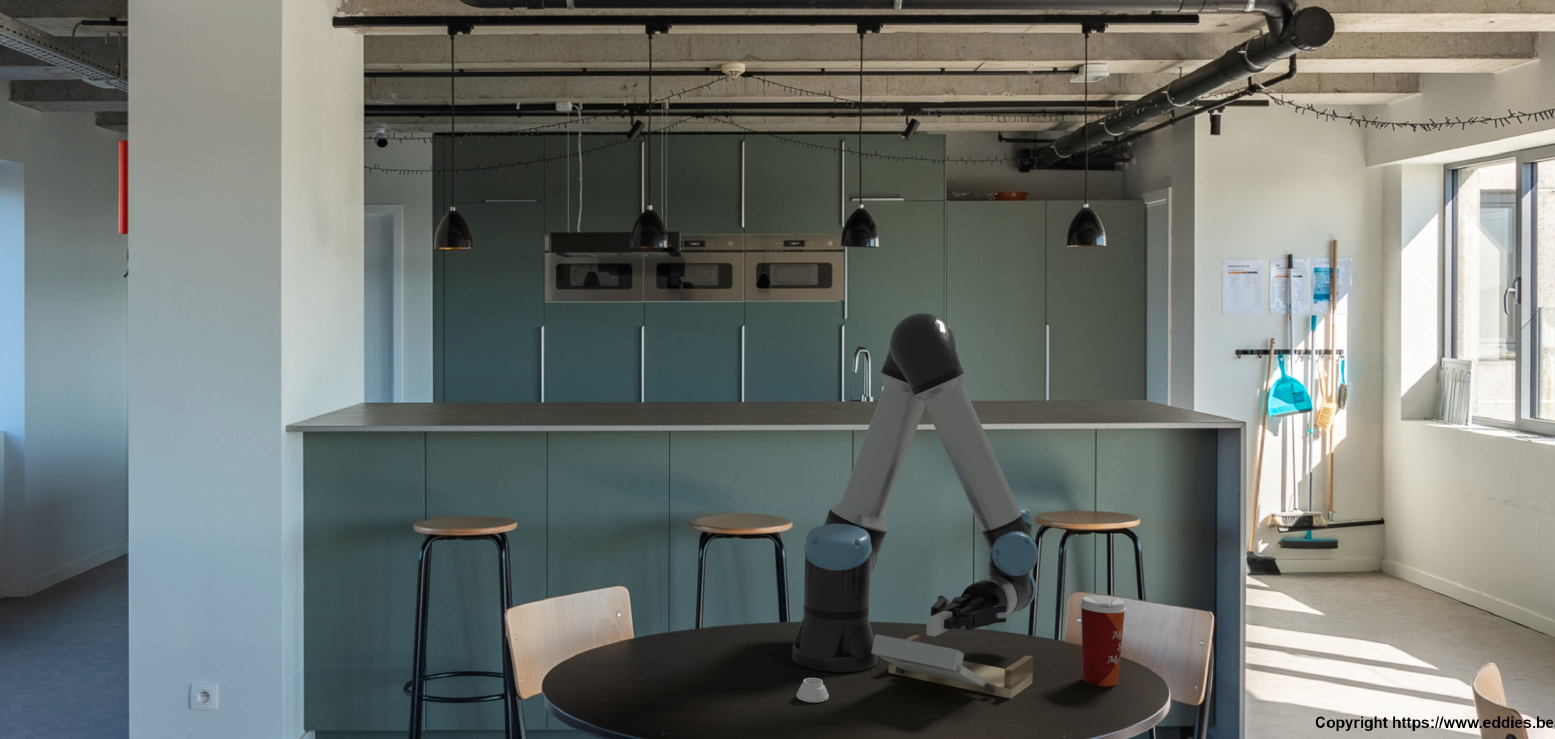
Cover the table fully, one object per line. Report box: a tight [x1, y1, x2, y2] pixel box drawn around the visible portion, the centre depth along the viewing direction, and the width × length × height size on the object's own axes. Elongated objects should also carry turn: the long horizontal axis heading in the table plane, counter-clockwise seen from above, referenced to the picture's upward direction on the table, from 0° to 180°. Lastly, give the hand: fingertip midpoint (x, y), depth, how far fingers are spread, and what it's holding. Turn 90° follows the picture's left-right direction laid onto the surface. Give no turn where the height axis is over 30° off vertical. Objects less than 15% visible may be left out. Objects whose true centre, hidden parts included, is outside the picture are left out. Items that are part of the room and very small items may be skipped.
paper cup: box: [1079, 595, 1128, 688], centre depth 177 cm, size 8×8×14 cm
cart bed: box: [888, 634, 1034, 700], centre depth 176 cm, size 22×12×4 cm, turn 57°
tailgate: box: [871, 633, 986, 687], centre depth 166 cm, size 14×3×14 cm
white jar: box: [796, 677, 830, 704], centre depth 164 cm, size 5×3×5 cm
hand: (930, 627), depth 165 cm, fingers closed
